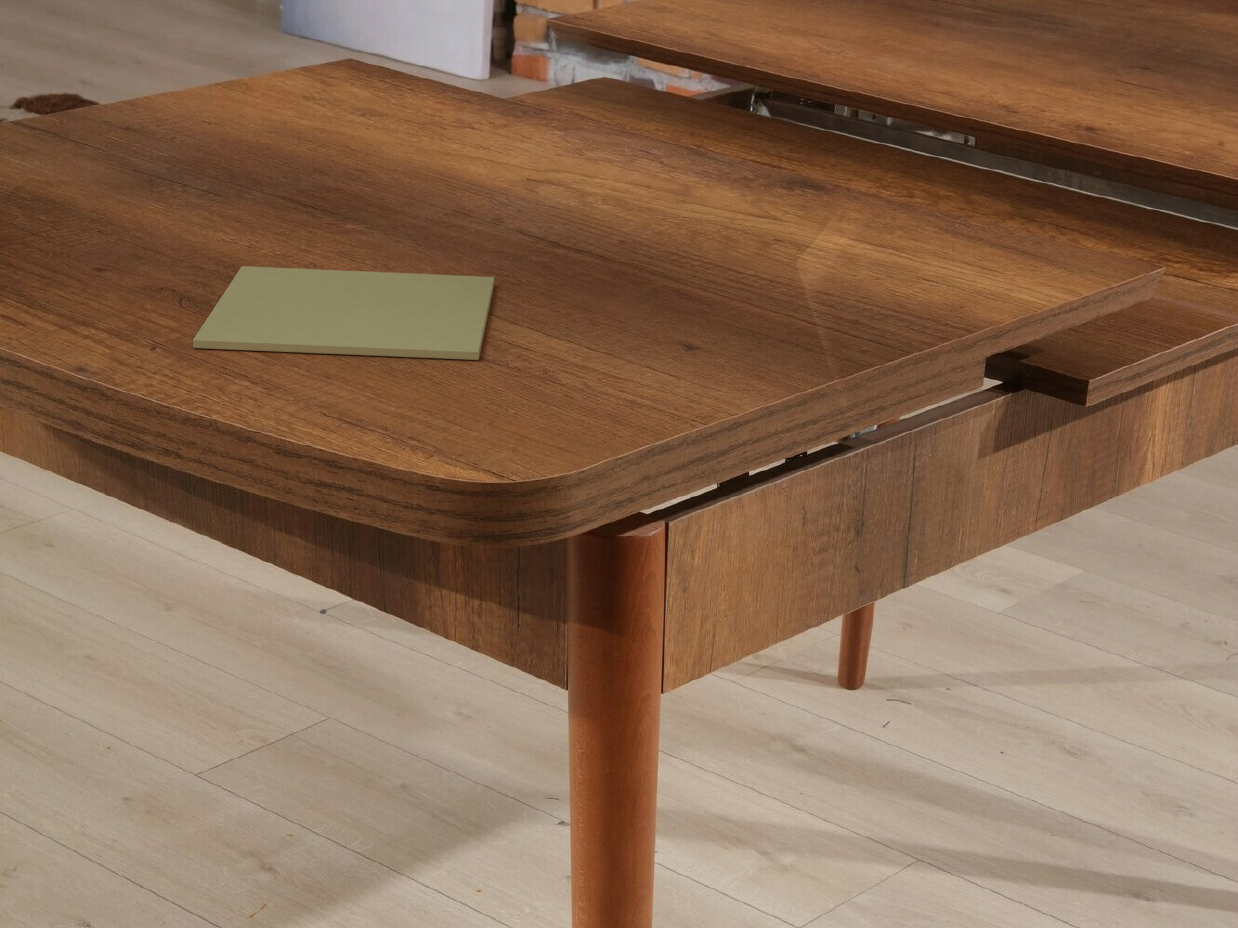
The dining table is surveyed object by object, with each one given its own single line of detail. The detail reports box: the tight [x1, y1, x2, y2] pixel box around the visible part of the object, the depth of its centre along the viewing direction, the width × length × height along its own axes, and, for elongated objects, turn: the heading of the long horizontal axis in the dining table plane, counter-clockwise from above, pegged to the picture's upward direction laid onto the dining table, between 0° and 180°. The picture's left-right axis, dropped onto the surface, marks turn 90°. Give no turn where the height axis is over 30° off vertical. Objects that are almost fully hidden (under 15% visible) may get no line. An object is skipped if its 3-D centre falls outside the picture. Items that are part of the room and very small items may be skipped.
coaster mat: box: [192, 265, 495, 361], centre depth 74 cm, size 12×10×1 cm
